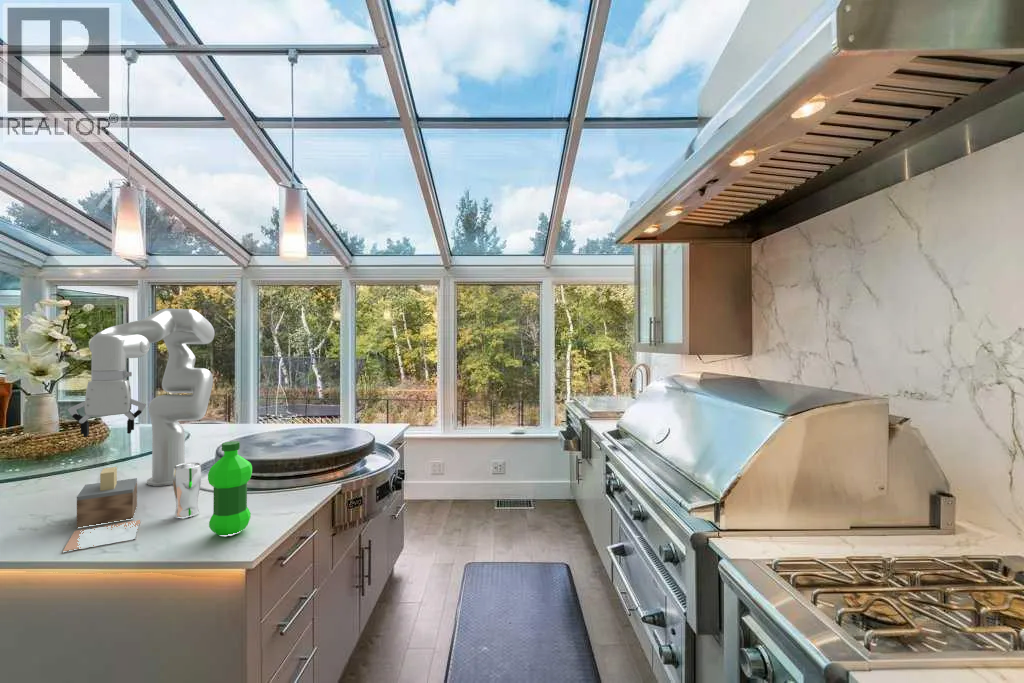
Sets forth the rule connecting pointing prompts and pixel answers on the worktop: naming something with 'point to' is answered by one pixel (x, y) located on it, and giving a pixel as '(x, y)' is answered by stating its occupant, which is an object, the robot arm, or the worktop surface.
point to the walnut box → (106, 509)
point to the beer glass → (186, 488)
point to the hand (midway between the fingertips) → (108, 434)
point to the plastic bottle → (230, 491)
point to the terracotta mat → (73, 540)
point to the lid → (107, 486)
